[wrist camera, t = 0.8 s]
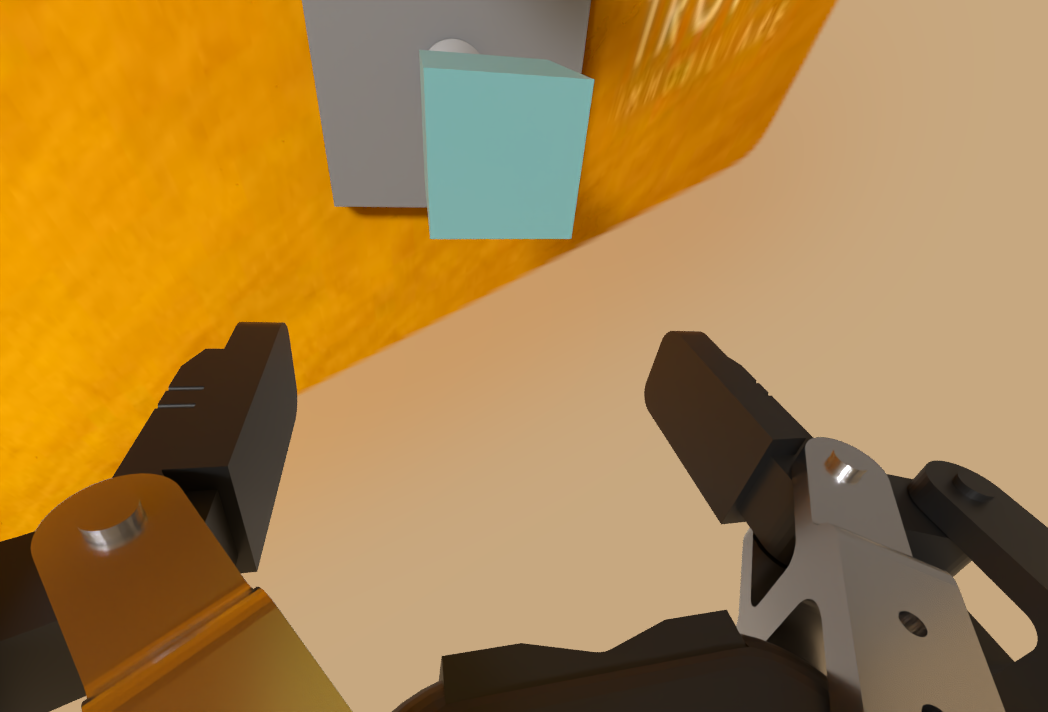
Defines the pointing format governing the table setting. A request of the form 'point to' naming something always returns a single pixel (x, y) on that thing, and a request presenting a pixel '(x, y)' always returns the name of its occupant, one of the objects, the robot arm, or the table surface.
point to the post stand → (412, 77)
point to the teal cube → (501, 145)
